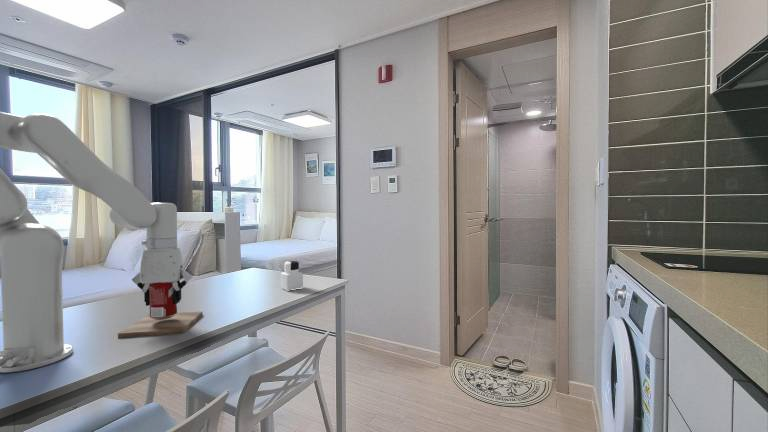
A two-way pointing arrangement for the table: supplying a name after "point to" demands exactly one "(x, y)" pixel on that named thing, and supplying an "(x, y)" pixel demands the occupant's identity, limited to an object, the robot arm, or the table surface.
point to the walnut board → (161, 325)
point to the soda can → (162, 301)
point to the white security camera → (291, 276)
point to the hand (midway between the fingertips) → (163, 303)
